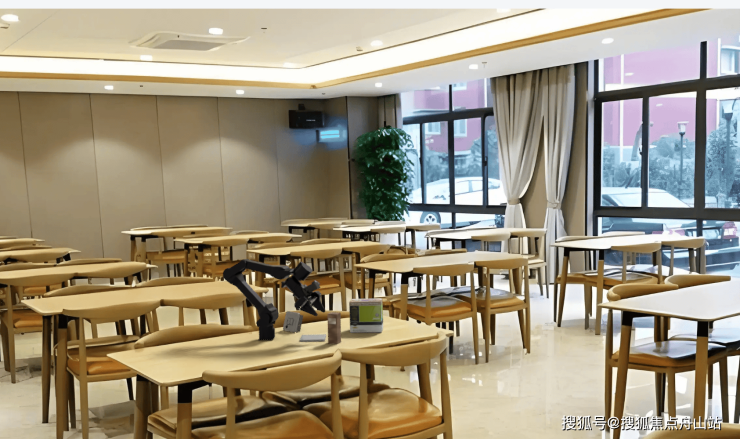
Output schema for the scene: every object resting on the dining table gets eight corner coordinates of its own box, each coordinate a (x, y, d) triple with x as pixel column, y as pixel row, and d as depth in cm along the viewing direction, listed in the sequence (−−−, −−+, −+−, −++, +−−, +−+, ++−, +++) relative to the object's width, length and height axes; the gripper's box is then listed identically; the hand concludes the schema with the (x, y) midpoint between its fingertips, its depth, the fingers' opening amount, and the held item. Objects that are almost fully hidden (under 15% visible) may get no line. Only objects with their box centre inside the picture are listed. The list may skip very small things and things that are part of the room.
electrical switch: (282, 330, 341) (283, 311, 341) (290, 330, 345) (291, 310, 345) (295, 333, 335) (296, 313, 335) (303, 332, 338) (304, 312, 339)
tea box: (383, 328, 341) (383, 297, 341) (381, 333, 331) (381, 301, 331) (352, 328, 343) (351, 298, 342) (349, 333, 333) (348, 301, 332)
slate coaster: (299, 341, 316) (299, 339, 315) (301, 336, 326) (301, 334, 326) (324, 341, 316) (324, 339, 316) (326, 336, 327) (326, 334, 327)
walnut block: (327, 343, 310) (326, 314, 309) (331, 341, 315) (331, 312, 314) (337, 344, 309) (336, 314, 308) (341, 342, 314) (340, 312, 313)
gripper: (300, 278, 305) (325, 304, 303) (316, 272, 323) (340, 297, 320) (283, 296, 308) (308, 322, 305) (301, 289, 326) (324, 314, 323)
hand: (321, 313), depth 313 cm, fingers open, 9 cm apart
